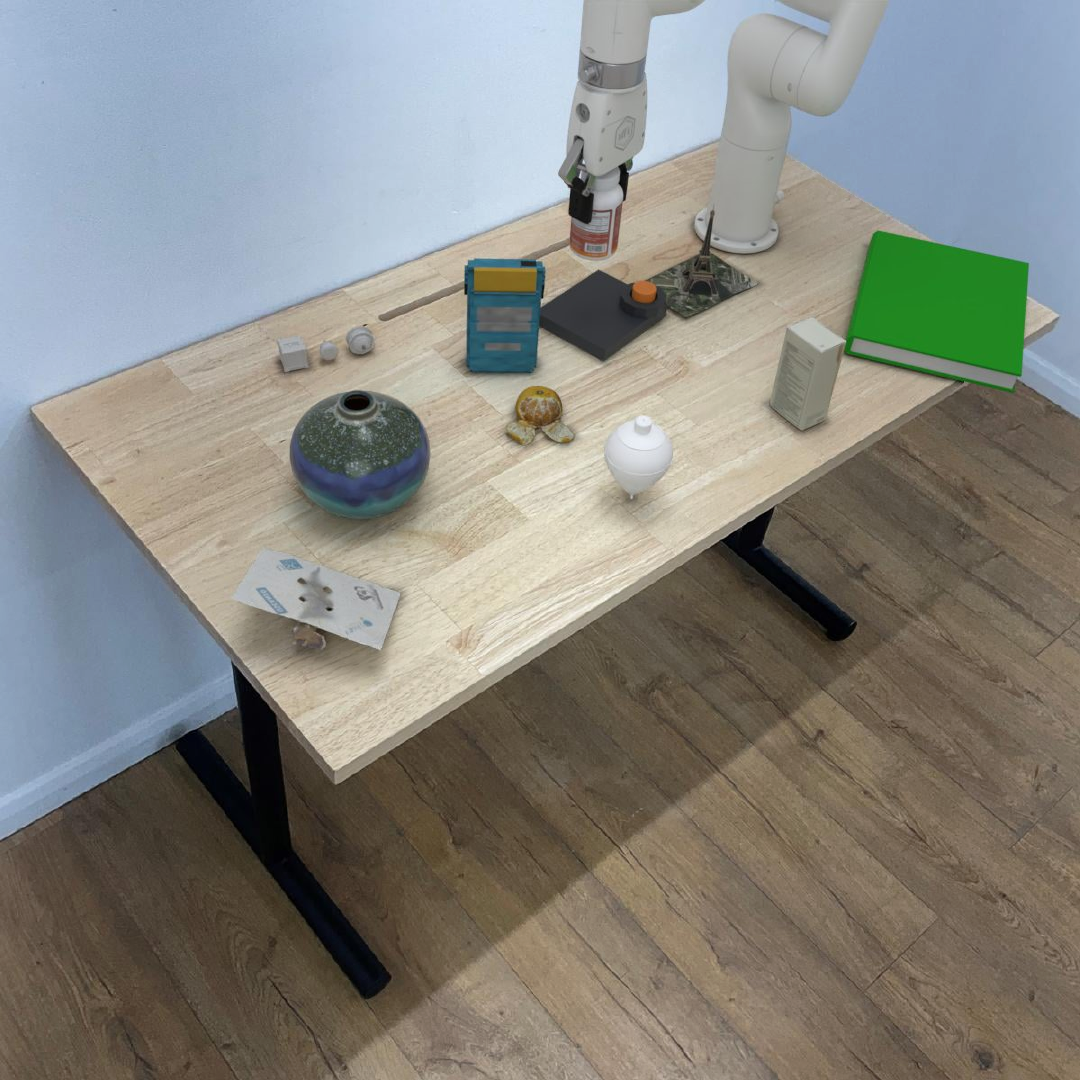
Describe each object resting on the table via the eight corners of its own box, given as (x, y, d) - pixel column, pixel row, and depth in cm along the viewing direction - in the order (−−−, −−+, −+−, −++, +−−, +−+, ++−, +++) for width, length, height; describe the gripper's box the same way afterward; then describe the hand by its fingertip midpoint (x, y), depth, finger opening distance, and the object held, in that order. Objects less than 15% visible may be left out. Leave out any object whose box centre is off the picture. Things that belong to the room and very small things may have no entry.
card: (367, 687, 115) (381, 647, 113) (219, 638, 114) (231, 596, 112) (388, 629, 126) (401, 591, 123) (252, 583, 124) (263, 544, 122)
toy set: (282, 353, 145) (275, 336, 147) (285, 375, 147) (279, 357, 149) (376, 335, 148) (368, 318, 150) (377, 356, 151) (369, 339, 153)
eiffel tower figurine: (706, 252, 172) (721, 169, 162) (758, 284, 167) (777, 200, 157) (634, 288, 165) (646, 203, 155) (687, 322, 160) (702, 237, 150)
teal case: (538, 356, 153) (545, 257, 142) (539, 376, 150) (547, 277, 139) (463, 355, 152) (464, 256, 141) (463, 375, 149) (464, 276, 138)
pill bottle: (595, 230, 152) (603, 151, 144) (627, 252, 149) (637, 172, 141) (558, 245, 149) (564, 165, 141) (590, 268, 146) (598, 188, 138)
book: (1021, 280, 171) (1028, 262, 169) (1013, 393, 152) (1021, 374, 150) (868, 247, 175) (874, 229, 173) (842, 352, 156) (848, 334, 154)
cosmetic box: (826, 421, 147) (850, 342, 138) (800, 432, 145) (823, 353, 136) (791, 392, 150) (812, 314, 142) (766, 403, 149) (786, 324, 140)
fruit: (507, 445, 140) (508, 421, 138) (503, 400, 146) (504, 377, 143) (575, 444, 141) (578, 421, 139) (568, 399, 147) (571, 376, 144)
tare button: (640, 287, 159) (642, 277, 158) (659, 297, 158) (661, 287, 157) (626, 297, 157) (628, 287, 156) (645, 307, 156) (647, 297, 155)
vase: (356, 562, 126) (348, 472, 116) (266, 489, 133) (252, 399, 123) (459, 493, 134) (459, 403, 124) (369, 428, 141) (364, 338, 131)
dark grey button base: (599, 279, 166) (602, 257, 163) (671, 316, 160) (675, 294, 158) (533, 323, 158) (534, 301, 155) (607, 363, 152) (609, 341, 150)
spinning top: (587, 506, 134) (596, 427, 125) (615, 467, 139) (626, 388, 130) (647, 531, 132) (662, 452, 123) (674, 490, 137) (689, 412, 128)
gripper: (590, 102, 125) (577, 248, 138) (682, 53, 135) (662, 193, 148) (537, 79, 128) (529, 223, 141) (630, 32, 138) (615, 172, 151)
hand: (597, 207), depth 144 cm, fingers closed on pill bottle, 6 cm apart
